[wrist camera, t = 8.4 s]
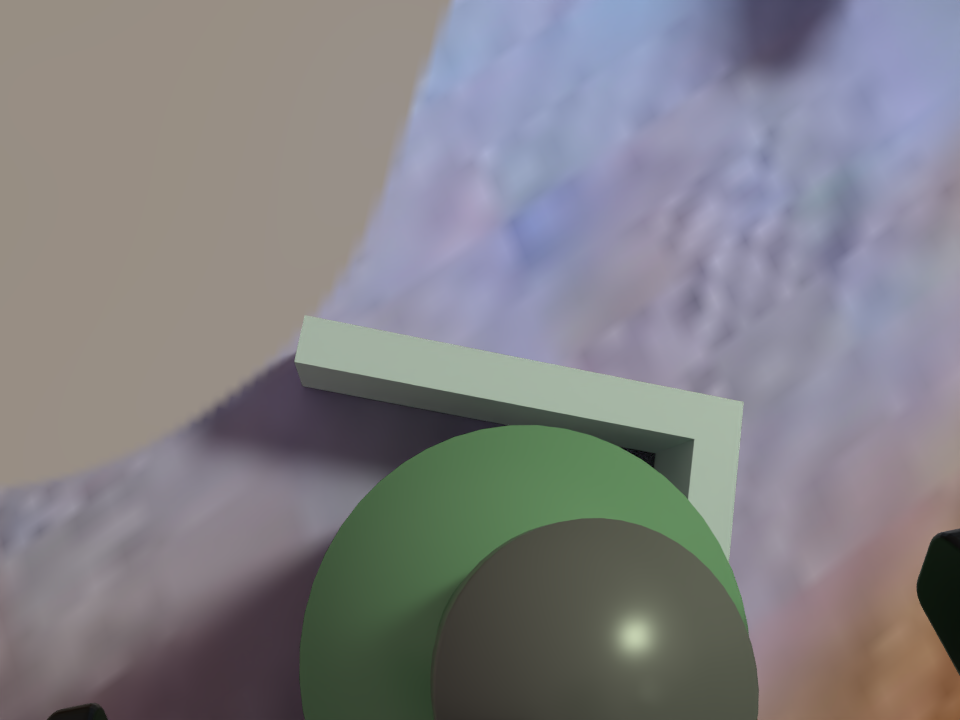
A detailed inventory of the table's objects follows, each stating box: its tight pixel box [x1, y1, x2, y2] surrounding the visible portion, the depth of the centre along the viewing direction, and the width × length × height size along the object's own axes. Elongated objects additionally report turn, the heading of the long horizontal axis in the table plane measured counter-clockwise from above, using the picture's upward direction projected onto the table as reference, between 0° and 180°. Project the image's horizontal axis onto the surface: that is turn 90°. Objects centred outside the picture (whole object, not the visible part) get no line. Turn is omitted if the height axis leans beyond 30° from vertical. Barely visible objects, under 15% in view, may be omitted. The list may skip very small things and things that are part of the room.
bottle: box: [299, 425, 759, 720], centre depth 13 cm, size 6×6×12 cm
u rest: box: [294, 315, 744, 562], centre depth 18 cm, size 10×10×2 cm
